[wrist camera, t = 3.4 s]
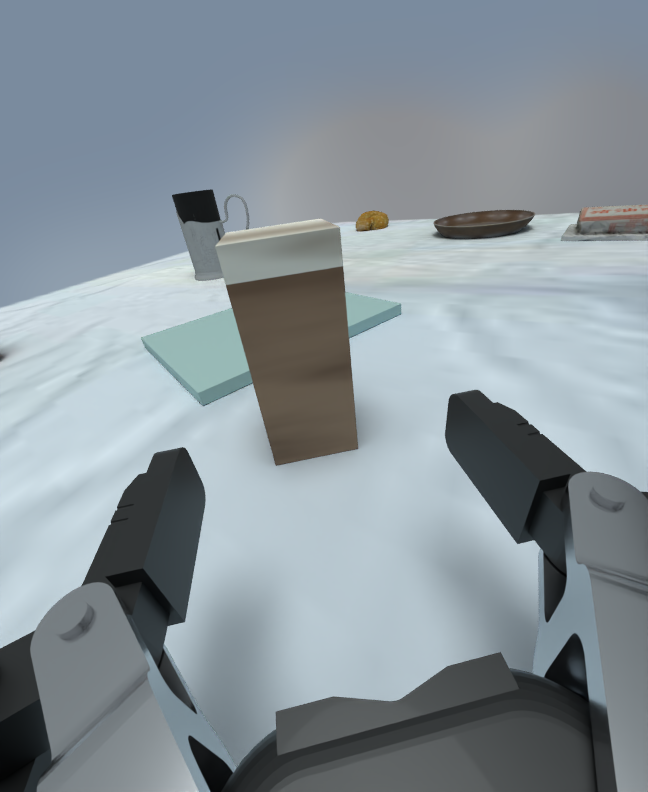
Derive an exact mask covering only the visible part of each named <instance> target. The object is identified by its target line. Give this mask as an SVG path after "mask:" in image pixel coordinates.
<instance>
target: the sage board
mask: <svg viewBox="0 0 648 792" xmlns="http://www.w3.org/2000/svg"><path fill="white" fill-rule="evenodd" d="M345 296H346V308H347V320H348V333H349V338H350V337H352V336H355V335H357V334H359V333H361V332H363V331H365V330H368V329H370V328H372V327H374V326H376V325H378V324H380V323H383V322H385V321H387V320H389V319H391V318H393V317H396V316H398V315H400V314H401V303H396V302H391V301H386V300H381V299H376V298H372V297H367V296H362V295H357V294H352V293H347V292H345ZM141 340H142V342H143V344H144V346H145V348H146V349H147V350H148V351H149V352H150V353H151V354H152V355H153V356H154V357H155V358H156V359H157V360H158V361H159V362H160V363H161V364H162V365H163V366H164V367H165V368H166V369H167V370H168V371H169V372H170V373H171V374H172V375H173V376H174V377H175V378H176V379H177V380H178V381H179V382H180V383H181V384H182V385H183V386H184V387H185V388H186V389H187V390H188V391H189V392H190V393H191V394H192V395H193V396H194V397H195V398H196V399H197V400H198V401H199V402H200V403H201V404H202V405H203V406H204V405H206V404H208V403H210V402H212V401H214V400H217V399H219V398H221V397H223V396H225V395H227V394H229V393H232V392H234V391H236V390H238V389H240V388H242V387H245V386H247V385H249V384H251V383H253V381H252V378H251V374H250V370H249V367H248V363H247V360H246V356H245V352H244V349H243V345H242V342H241V338H240V334H239V331H238V327H237V323H236V320H235V316H234V313H233V309H232V308H231V309H228V310H225V311H221V312H218V313H215V314H212V315H209V316H206V317H203V318H200V319H197V320H194V321H191V322H188V323H185V324H182V325H178V326H175V327H172V328H169V329H166V330H163V331H160V332H157V333H154V334H151V335H148V336H145V337H142V338H141Z"/></svg>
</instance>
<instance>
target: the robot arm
mask: <svg viewBox="0 0 648 792" xmlns="http://www.w3.org/2000/svg"><path fill="white" fill-rule="evenodd" d="M539 432H540V431H538V430H537V429H536V428H535V427H534V426H533V425H531V424H530V425H529V423H528V421H527V420H526V419H524V418H523V417H522V416H521V415H520V414H519V413H517V412H516V411H515V410H513V409H511V408H509V407H506V406H504V405H502V404H500V403H498V402H497V403H493V402H492V401H490V400H489V399H488V398H487V397H486V396H485V395H484V394H483V393H482V392H480V391H479V390H472V391H467V392H462V393H457V394H452V395H451V396H450V398H449V403H448V412H447V421H446V430H445V438H446V443H447V446H448V448H449V451H450V452H451V454H452V455H453V457H454V458H455V459H456V461H457V462H458V463H459V465H460V466H461V467H462V469H463V470H464V472H465V473H466V474H467V476H468V477H469V478H470V480H471V481H472V483H473V484H474V485H475V487H476V488H477V489H478V491H479V492H480V493H481V495H482V496H483V498H484V499H485V500H486V502H487V503H488V504H489V506H490V507H491V509H492V510H493V511H494V513H495V514H496V515H497V517H498V518H499V519H500V521H501V522H502V524H503V525H504V526H505V528H506V529H507V530H508V532H509V533H510V535H511V536H512V537H513V539H514V540H515V541H516V543H517V544H520V543H524V542H528V541H532V540H535V541H536V543H537V544H538V545H539V547H540V548H541V549H540V551H539V555H538V582H539V629H538V637H537V642H536V646H535V652H534V660H533V674H532V673H529V672H525V671H521V670H516V669H511V668H509V667H508V666H507V664H506V662H505V660H504V658H503V656H502V654H501V652H500V653H496V654H492V655H488V656H484V657H481V658H477V659H473V660H469V661H466V662H462V663H458V664H454V665H451V666H447V667H446V668H444V669H443V670H442V671H440V672H439V673H437V674H436V675H434V676H433V677H432V678H430V679H429V680H427V681H426V682H424V683H423V684H422V685H420V686H419V687H417V688H416V689H415V690H413V691H412V692H410V693H409V694H407V695H406V696H405V697H403V698H402V699H400V700H397V701H379V700H367V699H356V698H344V697H330V698H326V699H322V700H318V701H315V702H311V703H307V704H303V705H300V706H296V707H292V708H288V709H285V710H281V711H277V712H276V730H274V731H273V732H271V733H270V734H268V735H267V736H266V737H265V738H264V739H263V740H262V741H260V742H259V743H258V744H257V745H256V746H255V747H254V748H253V749H252V750H251V751H250V752H249V754H248V755H247V756H246V757H245V758H244V759H243V760H242V761H241V763H240V764H239V766H238V767H236V766H235V764H234V762H233V760H232V758H231V757H230V755H229V753H228V751H227V750H226V748H225V746H224V745H223V743H222V741H221V740H220V738H219V737H218V735H217V734H216V732H215V731H214V730H213V728H212V727H211V726H210V724H209V723H208V721H207V720H206V718H205V717H204V715H203V713H202V711H201V710H200V708H199V706H198V704H197V702H196V701H195V699H194V697H193V695H192V693H191V691H190V690H189V688H188V686H187V684H186V682H185V680H184V679H183V677H182V675H181V673H180V671H179V669H178V668H177V666H176V664H175V662H174V660H173V658H172V657H171V655H170V653H169V651H168V649H167V647H166V646H165V645H164V641H165V636H166V631H167V626H170V625H174V624H178V623H183V622H185V618H186V612H187V607H188V601H189V595H190V589H191V583H192V578H193V572H194V566H195V560H196V554H197V549H198V543H199V537H200V531H201V525H202V520H203V514H204V508H205V490H204V486H203V483H202V481H201V479H200V476H199V474H198V472H197V470H196V468H195V466H194V464H193V462H192V460H191V457H190V455H189V453H188V451H187V450H186V449H185V448H183V447H182V448H177V449H172V450H167V451H162V452H157V453H155V454H154V456H153V458H152V460H151V463H150V465H149V468H148V470H147V473H144V474H139V475H138V476H137V477H136V478H135V479H134V480H133V481H132V483H131V484H130V485H129V486H128V487H127V488H126V489H125V491H124V493H123V495H122V497H121V499H120V502H119V504H118V506H117V511H115V513H114V515H113V517H112V520H111V525H109V526H108V528H107V531H106V533H105V535H104V537H103V540H102V542H101V544H100V546H99V548H98V551H97V553H96V555H95V557H94V560H93V562H92V564H91V566H90V569H89V571H88V573H87V575H86V577H85V580H84V582H83V584H82V586H81V587H79V588H77V589H75V590H73V591H71V592H70V593H68V594H67V595H65V596H64V597H63V598H62V599H60V600H59V601H58V602H57V603H56V604H55V605H54V606H53V607H52V608H51V609H50V610H49V611H48V612H47V613H46V615H45V616H44V617H43V619H42V620H41V622H40V623H39V625H38V627H37V628H36V630H35V631H33V632H31V633H30V634H28V635H26V636H24V637H22V638H20V639H18V640H16V641H14V642H12V643H10V644H8V645H7V646H5V647H3V648H1V649H0V792H648V492H640V491H639V490H638V489H636V488H635V487H634V486H632V485H631V484H629V483H627V482H625V481H624V480H621V479H619V478H617V477H614V476H611V475H608V474H604V473H599V472H586V471H585V470H584V469H583V468H581V467H580V466H579V465H578V464H577V463H576V462H574V461H573V460H572V459H571V458H570V457H569V456H567V455H566V454H565V453H564V452H563V451H562V450H560V449H559V448H558V447H557V446H556V445H555V444H554V443H552V442H551V441H550V440H549V439H548V438H547V437H545V436H544V435H543V434H540V433H539Z"/></svg>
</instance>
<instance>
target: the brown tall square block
mask: <svg viewBox="0 0 648 792" xmlns="http://www.w3.org/2000/svg"><path fill="white" fill-rule="evenodd" d="M215 248H216V251H217V255H218V259H219V262H220V266H221V269H222V273H223V277H224V280H225V284H226V287H227V291H228V295H229V298H230V302H231V305H232V309H233V313H234V316H235V320H236V323H237V327H238V331H239V334H240V338H241V342H242V345H243V349H244V352H245V356H246V360H247V363H248V367H249V370H250V374H251V378H252V381H253V385H254V388H255V392H256V396H257V399H258V403H259V406H260V410H261V414H262V417H263V421H264V425H265V428H266V432H267V435H268V439H269V443H270V446H271V450H272V453H273V457H274V461H275V464H276V465H281V464H286V463H291V462H296V461H301V460H306V459H310V458H315V457H320V456H325V455H330V454H335V453H340V452H344V451H349V450H354V449H358V442H357V430H356V418H355V405H354V393H353V381H352V369H351V357H350V345H349V333H348V320H347V308H346V296H345V284H344V272H343V260H342V248H341V235H340V227H338V226H336V225H334V224H332V223H329V222H327V221H325V220H322V219H314V220H308V221H301V222H295V223H289V224H281V225H275V226H268V227H261V228H255V229H248V230H242V231H235V232H228V233H226V234H225V235H224V236H223V237H222V238H221V240H220V241H219V242H218V243H217V245H216V246H215Z"/></svg>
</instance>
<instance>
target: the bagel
mask: <svg viewBox="0 0 648 792" xmlns="http://www.w3.org/2000/svg"><path fill="white" fill-rule="evenodd" d="M388 221H389V220H388V217H387V215H386V214H385V213H382V212H379V211H369V212H365V213H363V214H361V216H360V217H359V218H358V221H357V222H356V229H357V231H369V230H370V229H371V230H377V229H383V228H386V227H387V225H388Z"/></svg>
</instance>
